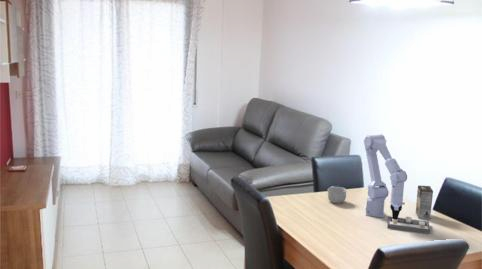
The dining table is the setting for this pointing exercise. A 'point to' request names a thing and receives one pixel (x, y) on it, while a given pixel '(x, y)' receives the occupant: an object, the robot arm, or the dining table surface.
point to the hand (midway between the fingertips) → (395, 219)
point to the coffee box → (424, 202)
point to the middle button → (408, 220)
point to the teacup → (336, 194)
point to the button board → (409, 225)
